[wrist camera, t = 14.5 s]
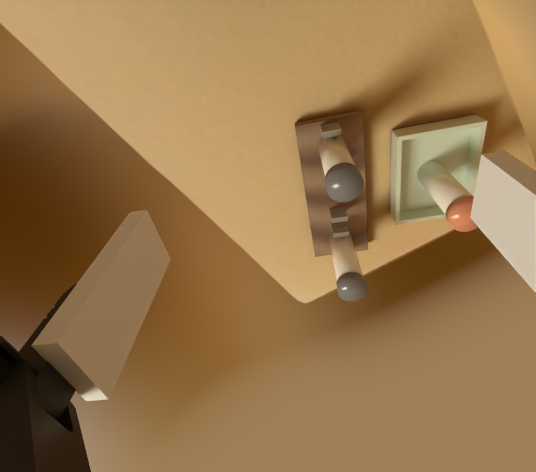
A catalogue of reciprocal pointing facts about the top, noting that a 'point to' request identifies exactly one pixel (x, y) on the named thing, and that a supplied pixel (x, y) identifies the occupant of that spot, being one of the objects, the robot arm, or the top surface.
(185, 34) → the top surface
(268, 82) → the top surface
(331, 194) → the fuse
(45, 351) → the robot arm
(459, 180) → the tray
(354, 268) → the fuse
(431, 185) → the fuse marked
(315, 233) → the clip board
